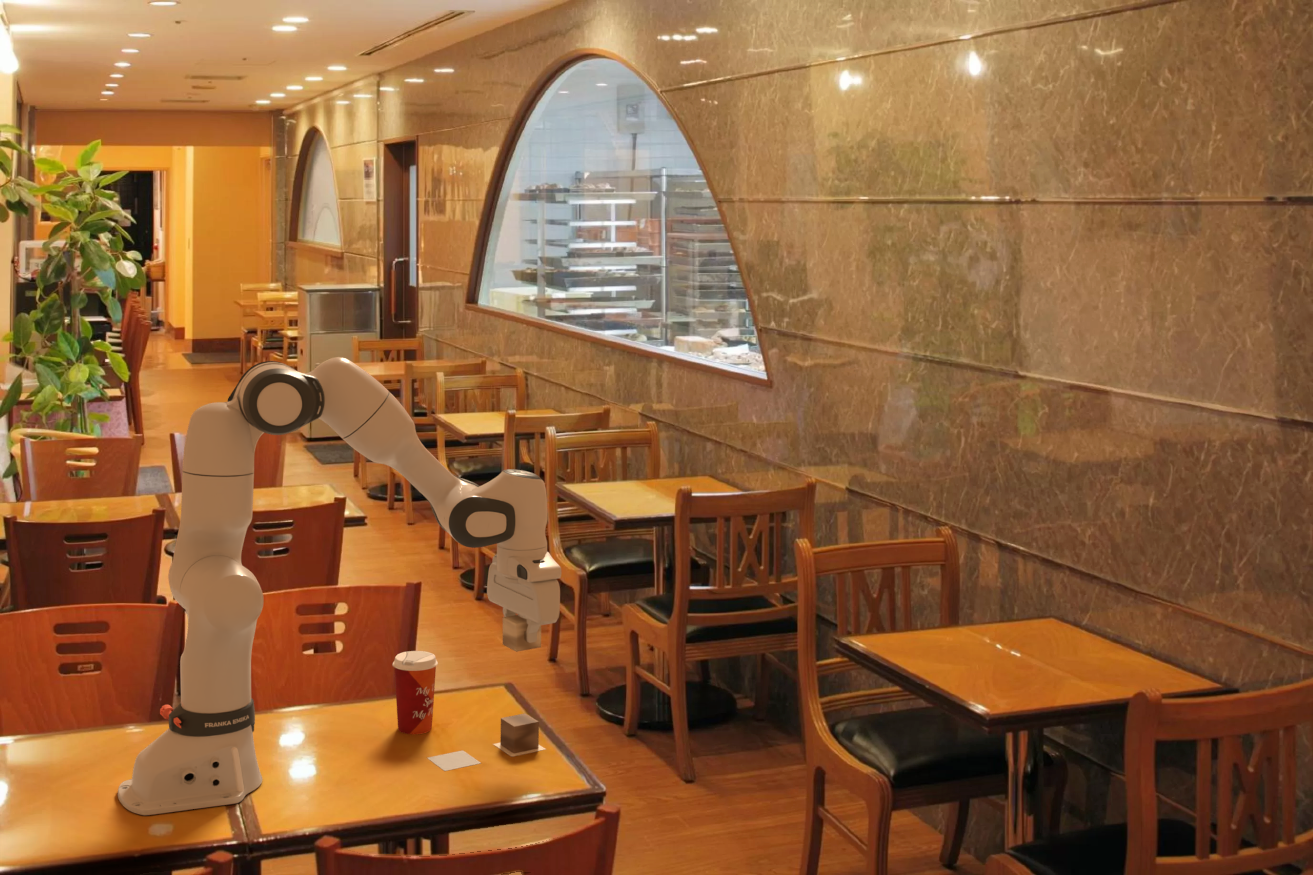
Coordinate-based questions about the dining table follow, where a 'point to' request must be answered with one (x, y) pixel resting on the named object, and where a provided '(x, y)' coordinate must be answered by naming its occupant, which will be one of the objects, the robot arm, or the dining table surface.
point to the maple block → (518, 634)
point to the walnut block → (519, 733)
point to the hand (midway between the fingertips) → (521, 636)
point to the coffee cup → (415, 690)
